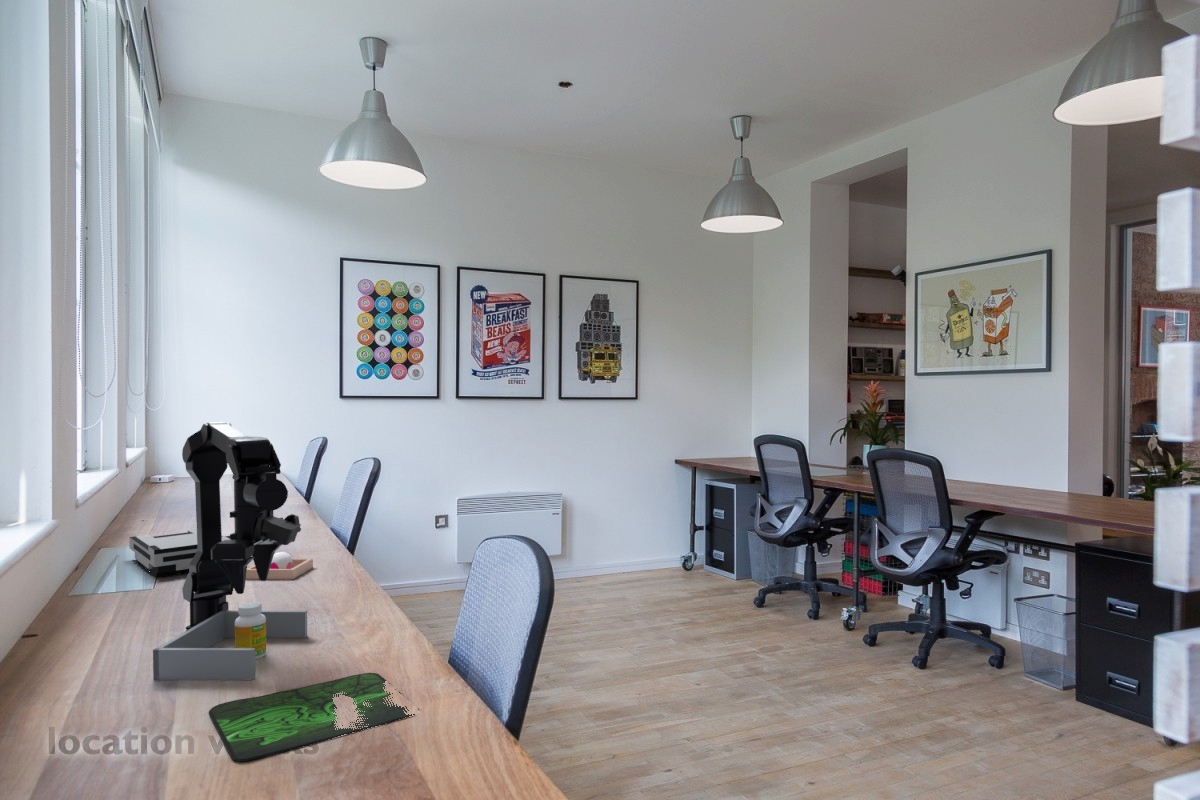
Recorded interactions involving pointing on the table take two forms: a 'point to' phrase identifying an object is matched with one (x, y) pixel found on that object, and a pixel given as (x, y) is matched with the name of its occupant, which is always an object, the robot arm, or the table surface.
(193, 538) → the game console
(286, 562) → the stress ball
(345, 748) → the table surface
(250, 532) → the robot arm
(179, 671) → the open side box
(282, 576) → the ball dish
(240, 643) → the supplement bottle
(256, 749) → the mouse mat
